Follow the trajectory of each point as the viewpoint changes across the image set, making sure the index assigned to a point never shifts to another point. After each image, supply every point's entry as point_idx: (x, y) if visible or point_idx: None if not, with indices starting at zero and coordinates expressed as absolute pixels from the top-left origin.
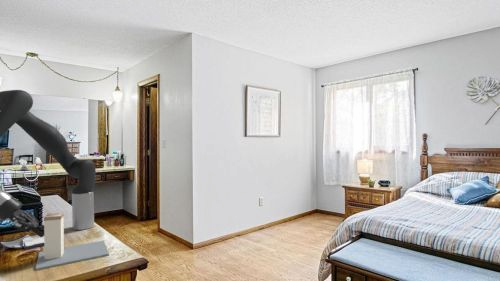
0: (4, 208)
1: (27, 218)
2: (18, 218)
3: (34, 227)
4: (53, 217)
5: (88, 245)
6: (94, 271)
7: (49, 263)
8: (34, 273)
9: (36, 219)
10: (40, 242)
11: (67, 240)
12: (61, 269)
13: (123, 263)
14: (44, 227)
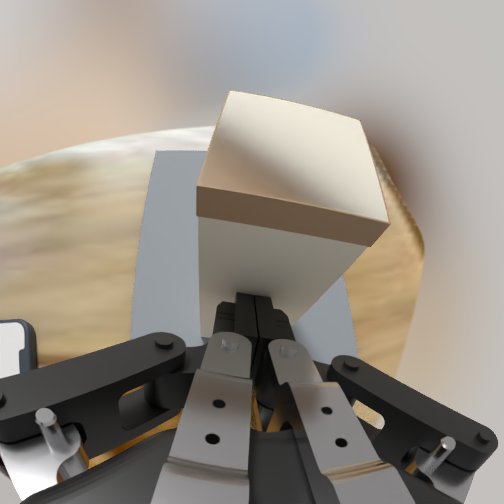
0: None
1: (363, 431)
2: (451, 497)
3: (314, 362)
4: (369, 161)
5: (179, 191)
6: (407, 209)
7: (327, 321)
8: (379, 361)
9: (111, 350)
10: (11, 359)
11: (32, 259)
12: (377, 281)
13: (375, 156)
14: (336, 278)
